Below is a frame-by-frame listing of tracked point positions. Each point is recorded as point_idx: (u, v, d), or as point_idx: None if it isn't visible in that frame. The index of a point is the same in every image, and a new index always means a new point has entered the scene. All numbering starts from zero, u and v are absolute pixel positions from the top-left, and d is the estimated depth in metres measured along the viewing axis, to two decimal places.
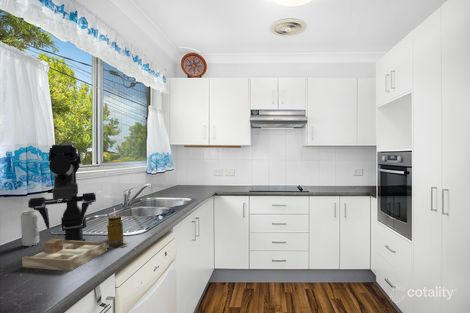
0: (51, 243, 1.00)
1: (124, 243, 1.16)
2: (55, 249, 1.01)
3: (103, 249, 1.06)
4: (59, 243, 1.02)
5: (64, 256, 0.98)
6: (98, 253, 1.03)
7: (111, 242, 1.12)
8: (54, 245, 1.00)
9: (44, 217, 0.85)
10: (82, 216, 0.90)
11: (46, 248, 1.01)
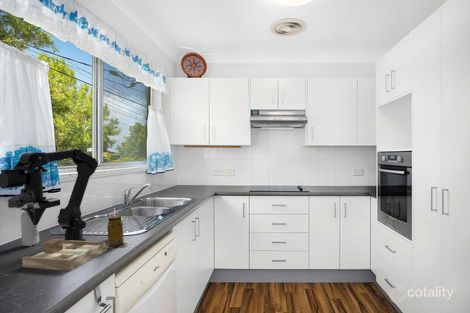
0: (51, 243, 1.00)
1: (124, 243, 1.16)
2: (55, 249, 1.01)
3: (103, 249, 1.06)
4: (59, 243, 1.02)
5: (64, 256, 0.98)
6: (98, 253, 1.03)
7: (111, 242, 1.12)
8: (54, 245, 1.00)
9: (30, 216, 1.03)
10: (34, 219, 1.03)
11: (46, 248, 1.01)
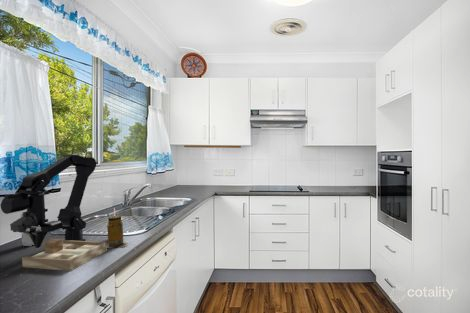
0: (51, 243, 1.00)
1: (124, 243, 1.16)
2: (55, 249, 1.01)
3: (103, 249, 1.06)
4: (59, 243, 1.02)
5: (64, 256, 0.98)
6: (98, 253, 1.03)
7: (111, 242, 1.12)
8: (54, 245, 1.00)
9: (32, 239, 1.03)
10: (36, 242, 1.03)
11: (46, 248, 1.01)
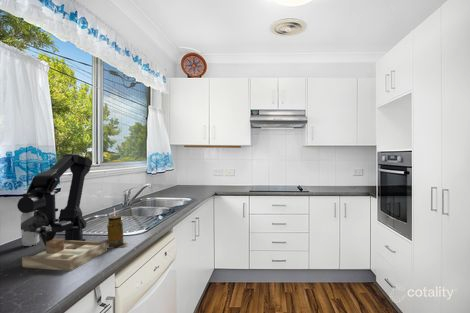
0: (53, 243, 1.00)
1: (124, 243, 1.16)
2: (57, 250, 1.01)
3: (103, 249, 1.06)
4: (60, 243, 1.02)
5: (64, 256, 0.98)
6: (98, 253, 1.03)
7: (111, 242, 1.12)
8: (55, 245, 1.00)
9: (42, 238, 1.02)
10: None
11: (47, 248, 1.00)
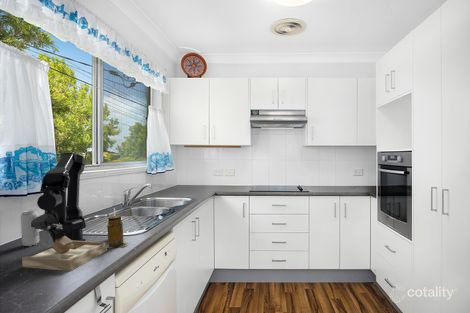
0: (61, 244, 0.99)
1: (124, 243, 1.16)
2: (63, 250, 1.00)
3: (103, 249, 1.06)
4: (68, 245, 1.01)
5: (64, 256, 0.98)
6: (98, 253, 1.03)
7: (111, 242, 1.12)
8: (63, 247, 0.99)
9: (52, 236, 1.01)
10: None
11: (55, 245, 0.99)
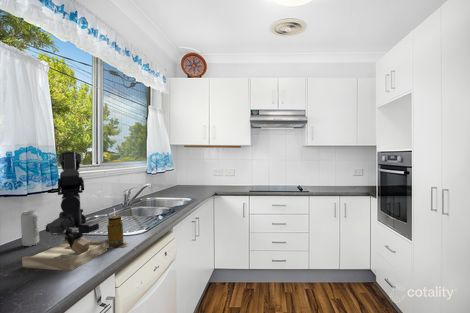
0: (81, 244, 0.97)
1: (124, 243, 1.16)
2: (82, 251, 0.99)
3: (103, 249, 1.06)
4: (87, 245, 1.00)
5: (64, 256, 0.98)
6: (98, 253, 1.03)
7: (111, 242, 1.12)
8: (83, 247, 0.98)
9: (68, 240, 0.99)
10: (72, 243, 0.99)
11: (74, 246, 0.98)
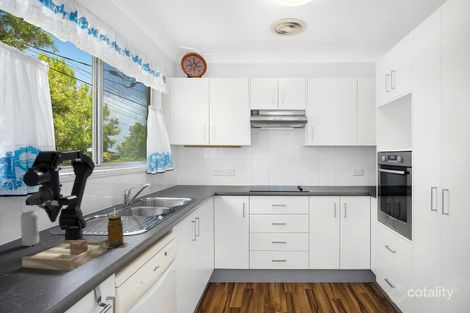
0: (77, 244, 0.98)
1: (124, 243, 1.16)
2: (81, 251, 0.99)
3: (103, 249, 1.06)
4: (84, 244, 1.00)
5: (64, 256, 0.98)
6: (98, 253, 1.03)
7: (111, 242, 1.12)
8: (80, 246, 0.98)
9: (47, 213, 1.04)
10: (52, 216, 1.04)
11: (71, 249, 0.98)
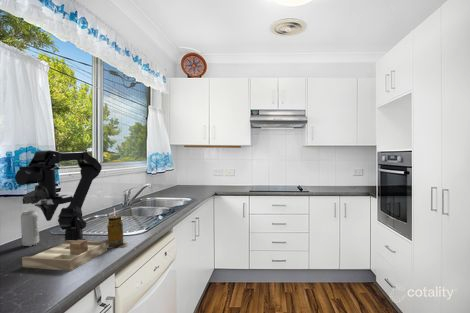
0: (77, 244, 0.98)
1: (124, 243, 1.16)
2: (81, 251, 0.99)
3: (103, 249, 1.06)
4: (84, 244, 1.00)
5: (64, 256, 0.98)
6: (98, 253, 1.03)
7: (111, 242, 1.12)
8: (80, 246, 0.98)
9: (43, 212, 1.06)
10: (47, 215, 1.06)
11: (71, 249, 0.98)
